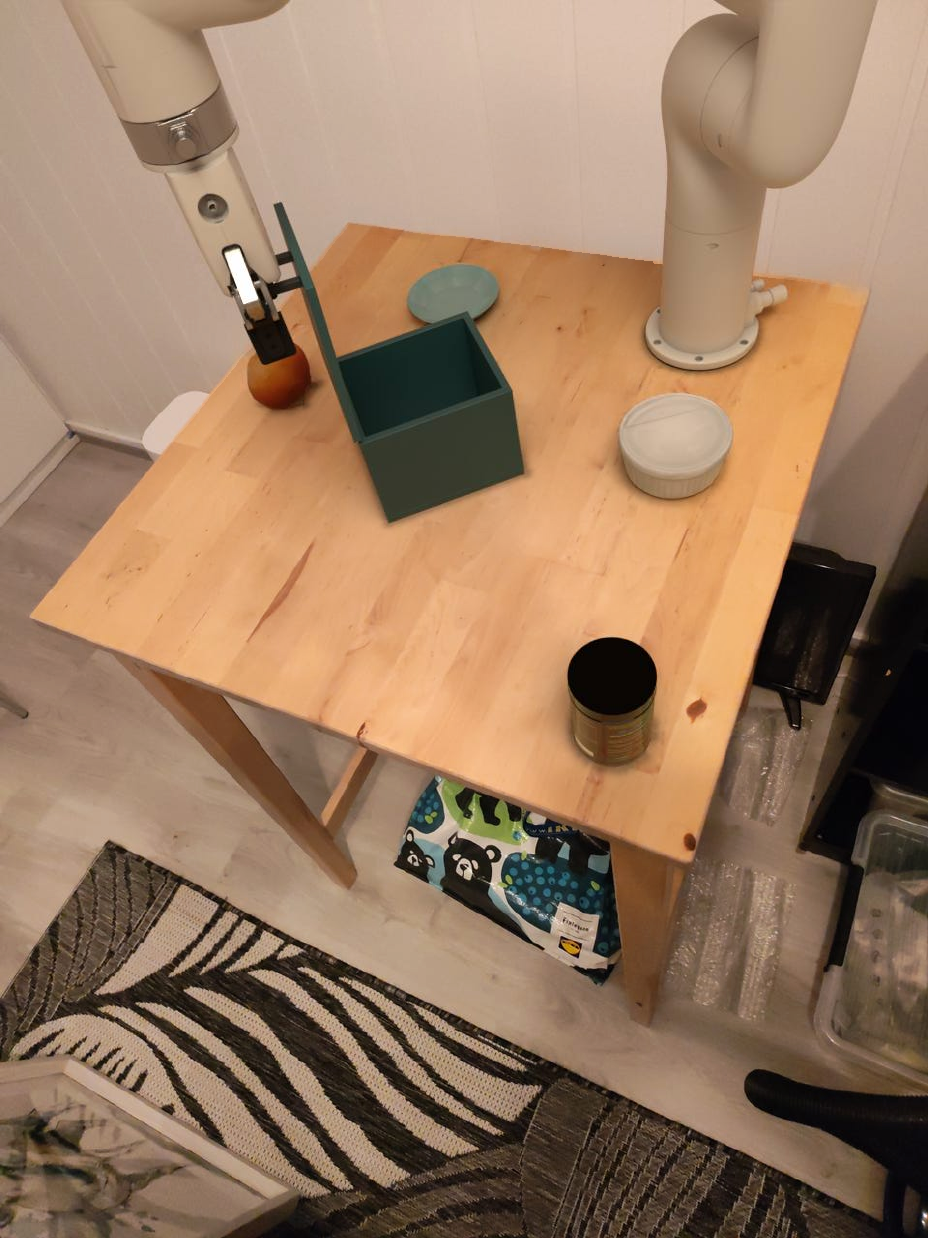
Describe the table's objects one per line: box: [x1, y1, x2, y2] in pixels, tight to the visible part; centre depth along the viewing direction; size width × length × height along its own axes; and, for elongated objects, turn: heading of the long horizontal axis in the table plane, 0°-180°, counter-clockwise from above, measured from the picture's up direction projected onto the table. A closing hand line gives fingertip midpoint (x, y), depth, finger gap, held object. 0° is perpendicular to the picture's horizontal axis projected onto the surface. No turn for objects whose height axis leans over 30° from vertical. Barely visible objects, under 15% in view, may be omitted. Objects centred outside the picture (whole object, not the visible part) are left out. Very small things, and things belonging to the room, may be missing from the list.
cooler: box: [336, 311, 525, 524], centre depth 85 cm, size 16×14×12 cm
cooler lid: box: [250, 201, 362, 444], centre depth 72 cm, size 16×14×6 cm
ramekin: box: [617, 392, 734, 500], centre depth 81 cm, size 11×11×5 cm
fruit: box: [246, 342, 317, 410], centre depth 97 cm, size 8×8×8 cm
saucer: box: [406, 263, 500, 324], centre depth 102 cm, size 12×12×2 cm
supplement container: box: [566, 636, 658, 766], centre depth 65 cm, size 7×7×10 cm
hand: (270, 328), depth 71 cm, fingers open, 8 cm apart
